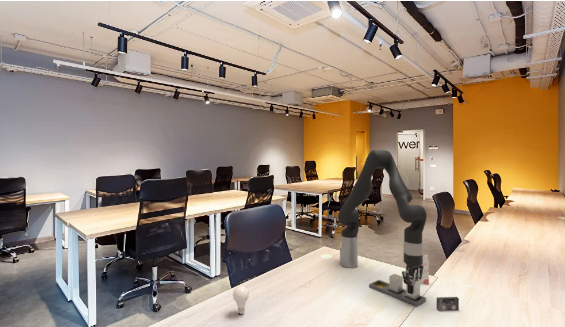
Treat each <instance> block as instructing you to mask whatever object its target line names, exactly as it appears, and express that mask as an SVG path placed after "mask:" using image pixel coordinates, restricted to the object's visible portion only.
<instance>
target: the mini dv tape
mask: <svg viewBox="0 0 565 327" xmlns="http://www.w3.org/2000/svg"><path fill="white" fill-rule="evenodd" d="M459 300H460V299H459V297H458V296H446V297H445V296H441V297H436V310H437V311H438V312H444V311H445V312H446V311H447V312H449V311H454V312H455V311H460V309H459V308H460V306H459V305H460V302H459Z"/></svg>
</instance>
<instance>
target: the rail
mask: <svg viewBox="0 0 565 327" xmlns="http://www.w3.org/2000/svg"><path fill="white" fill-rule="evenodd" d="M368 288H370V289H372V290H374V291H377V292H379V293H381V294H384V295H385V296H388V297H391V298H393V299H396V300H399V301H401V302H403V303H405V304H408V305H410V306H412V307H415V308H418V307H420V306H422V305H423V304H424V303H426V302H427V297H426V296H424V295H420V299H418V300H416V301H414V300H411V299H409V298H406V288H403V292H402V293H401V294H399V295H398V294H395V293H393V292H390V283H389V282H386V281H383V280H381V279H377V280H375V281H374V282H371V283H369V284H368Z"/></svg>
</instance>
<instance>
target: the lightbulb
mask: <svg viewBox="0 0 565 327" xmlns="http://www.w3.org/2000/svg"><path fill="white" fill-rule="evenodd" d="M232 296H233V297H232V298H233V300H234V301H235V303H236V306H237V314H239V313H240V314H239V315H243V314H244V313H245V306H246V302H248V299H249V296H250V292H249V289H248V288H247V287H246V286H244V285H238V286H237V287H236V288H234V290H233V293H232Z"/></svg>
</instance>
